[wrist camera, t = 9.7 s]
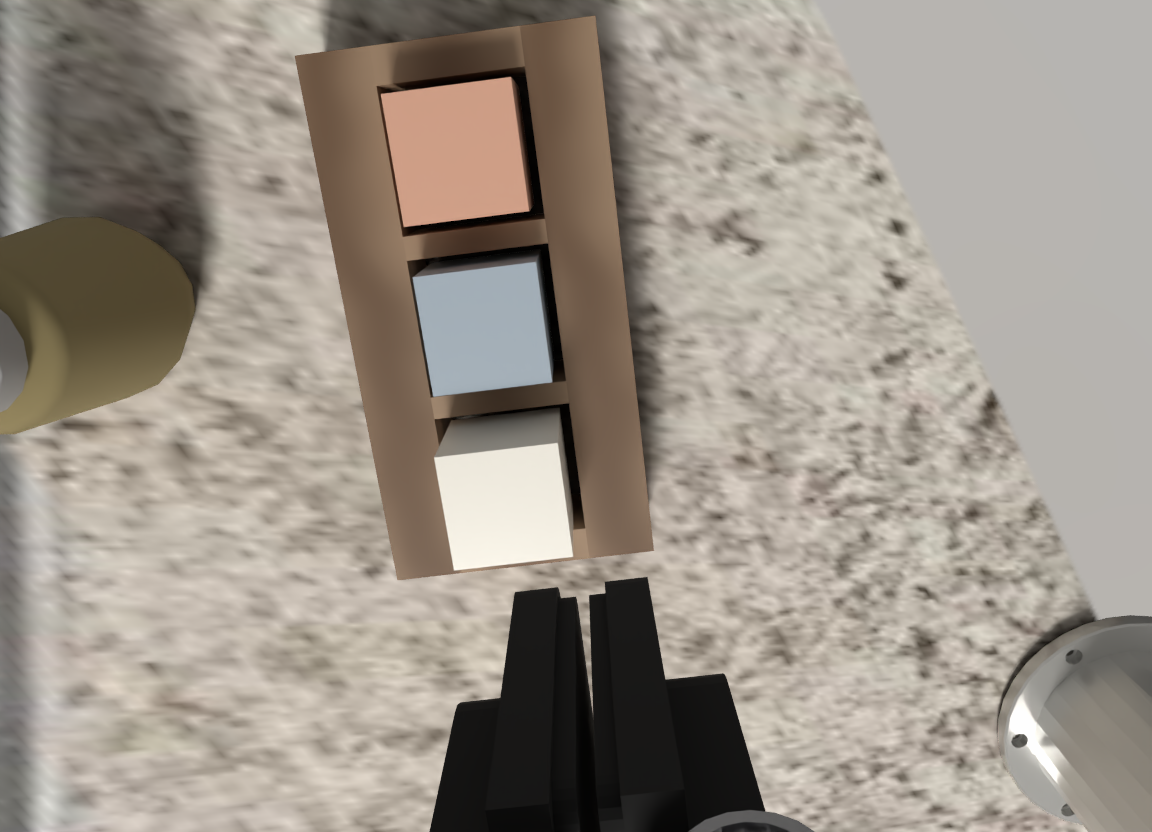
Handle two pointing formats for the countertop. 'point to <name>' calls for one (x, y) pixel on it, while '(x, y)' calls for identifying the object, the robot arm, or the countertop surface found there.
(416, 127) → the peach cube
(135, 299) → the squeeze bottle
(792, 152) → the countertop surface
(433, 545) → the wooden compartment tray
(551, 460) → the key cream
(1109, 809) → the robot arm
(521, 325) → the key slate
